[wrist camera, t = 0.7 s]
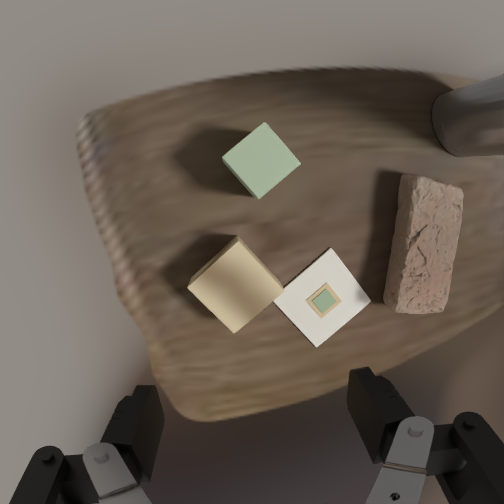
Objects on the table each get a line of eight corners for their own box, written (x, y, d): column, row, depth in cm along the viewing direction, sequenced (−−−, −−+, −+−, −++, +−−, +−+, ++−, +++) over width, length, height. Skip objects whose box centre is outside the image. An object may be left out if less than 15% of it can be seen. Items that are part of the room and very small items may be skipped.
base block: (237, 235, 34) (238, 241, 30) (278, 279, 36) (284, 291, 32) (191, 276, 35) (187, 287, 31) (233, 318, 36) (234, 333, 32)
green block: (258, 133, 32) (264, 121, 26) (288, 167, 33) (301, 163, 27) (223, 162, 32) (222, 156, 26) (253, 197, 33) (259, 199, 27)
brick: (397, 172, 34) (417, 172, 29) (446, 184, 35) (468, 186, 30) (377, 302, 37) (393, 316, 33) (426, 303, 38) (444, 315, 33)
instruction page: (330, 247, 35) (331, 248, 34) (370, 300, 37) (371, 301, 36) (271, 298, 36) (271, 299, 35) (316, 346, 37) (316, 348, 37)
